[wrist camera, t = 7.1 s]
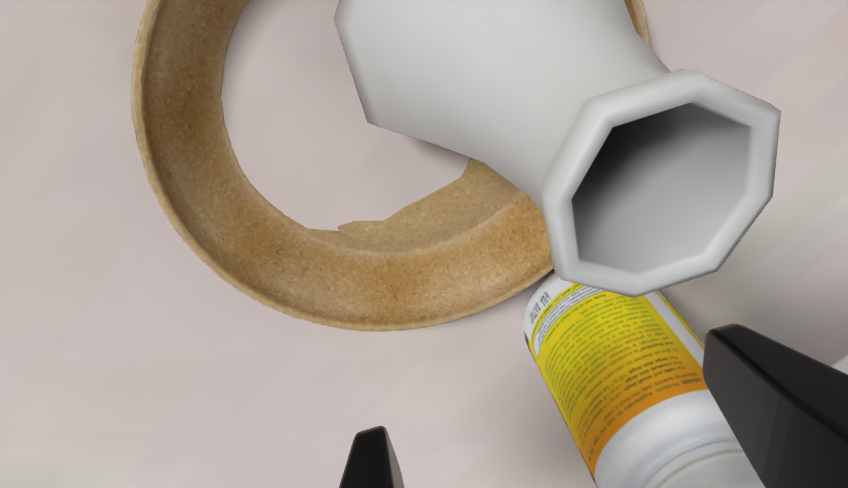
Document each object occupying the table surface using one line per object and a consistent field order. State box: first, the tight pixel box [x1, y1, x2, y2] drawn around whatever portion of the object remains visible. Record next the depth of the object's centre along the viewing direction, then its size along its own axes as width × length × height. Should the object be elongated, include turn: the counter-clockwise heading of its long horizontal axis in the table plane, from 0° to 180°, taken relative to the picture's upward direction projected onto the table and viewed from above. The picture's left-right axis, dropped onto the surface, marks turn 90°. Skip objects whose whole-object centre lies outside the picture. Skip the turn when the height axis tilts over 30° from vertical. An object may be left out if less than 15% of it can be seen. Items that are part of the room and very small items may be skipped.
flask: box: [334, 0, 781, 298], centre depth 12 cm, size 7×7×10 cm
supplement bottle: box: [523, 272, 765, 488], centre depth 21 cm, size 6×6×10 cm
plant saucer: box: [131, 0, 651, 331], centre depth 19 cm, size 15×15×3 cm
